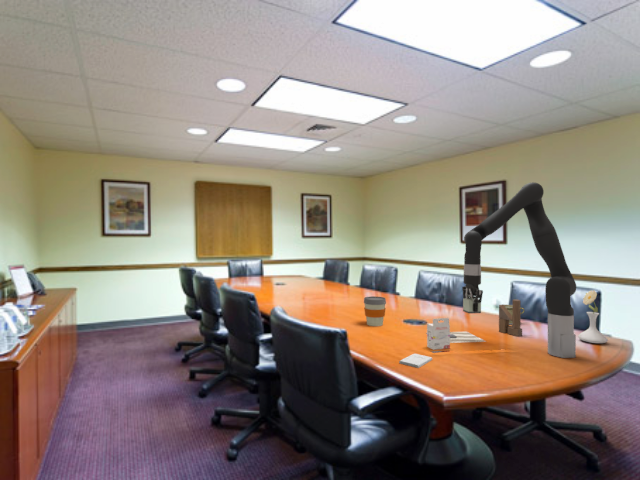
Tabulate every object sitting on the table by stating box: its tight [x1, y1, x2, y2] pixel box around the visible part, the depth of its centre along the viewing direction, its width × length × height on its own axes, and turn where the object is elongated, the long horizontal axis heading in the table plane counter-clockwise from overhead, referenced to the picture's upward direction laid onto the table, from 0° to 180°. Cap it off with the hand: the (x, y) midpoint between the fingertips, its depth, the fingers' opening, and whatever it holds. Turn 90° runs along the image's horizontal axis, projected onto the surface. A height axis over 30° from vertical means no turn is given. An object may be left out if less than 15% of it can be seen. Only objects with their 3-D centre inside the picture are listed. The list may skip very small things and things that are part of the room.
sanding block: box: [462, 298, 482, 314], centre depth 172 cm, size 5×6×6 cm
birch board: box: [425, 331, 487, 344], centre depth 177 cm, size 18×22×2 cm
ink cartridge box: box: [426, 317, 451, 354], centre depth 161 cm, size 9×5×15 cm, turn 105°
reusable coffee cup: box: [363, 296, 387, 327], centre depth 210 cm, size 13×13×15 cm
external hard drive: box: [398, 353, 433, 369], centre depth 147 cm, size 2×8×12 cm
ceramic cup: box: [503, 304, 525, 326], centre depth 211 cm, size 13×10×10 cm
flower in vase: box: [578, 289, 609, 344], centre depth 173 cm, size 13×11×25 cm
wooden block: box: [498, 298, 523, 337], centre depth 189 cm, size 4×11×18 cm, turn 28°
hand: (471, 310), depth 172 cm, fingers closed on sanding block, 5 cm apart
